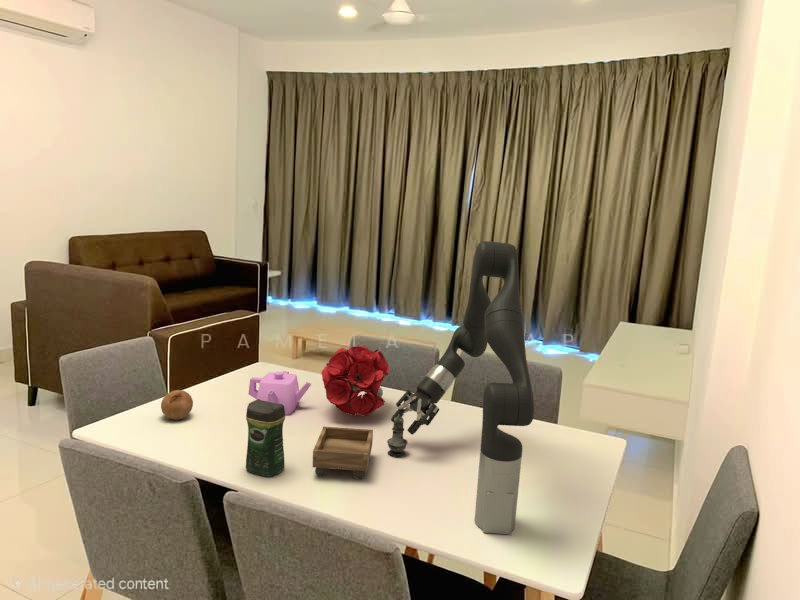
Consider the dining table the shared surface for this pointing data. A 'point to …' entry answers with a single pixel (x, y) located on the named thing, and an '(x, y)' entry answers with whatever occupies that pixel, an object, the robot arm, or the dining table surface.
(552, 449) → the dining table surface
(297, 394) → the teakettle
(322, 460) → the wooden serving tray
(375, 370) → the bouquet
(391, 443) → the grey stone tiered cylinder
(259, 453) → the coffee jar
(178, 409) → the onion
